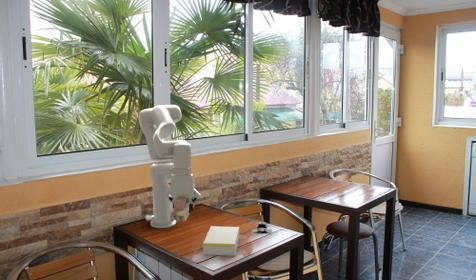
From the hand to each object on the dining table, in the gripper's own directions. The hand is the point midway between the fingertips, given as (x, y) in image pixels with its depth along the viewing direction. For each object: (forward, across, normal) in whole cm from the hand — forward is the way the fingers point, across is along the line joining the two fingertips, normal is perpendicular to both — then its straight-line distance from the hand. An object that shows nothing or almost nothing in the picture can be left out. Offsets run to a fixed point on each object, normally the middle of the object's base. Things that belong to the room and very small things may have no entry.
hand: (183, 211), depth 174 cm
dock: (+14, +17, -2) cm, 23 cm away
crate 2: (-3, 0, +6) cm, 6 cm away
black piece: (+15, +34, +18) cm, 41 cm away
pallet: (+1, 0, 0) cm, 1 cm away
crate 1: (-3, 0, -6) cm, 6 cm away
